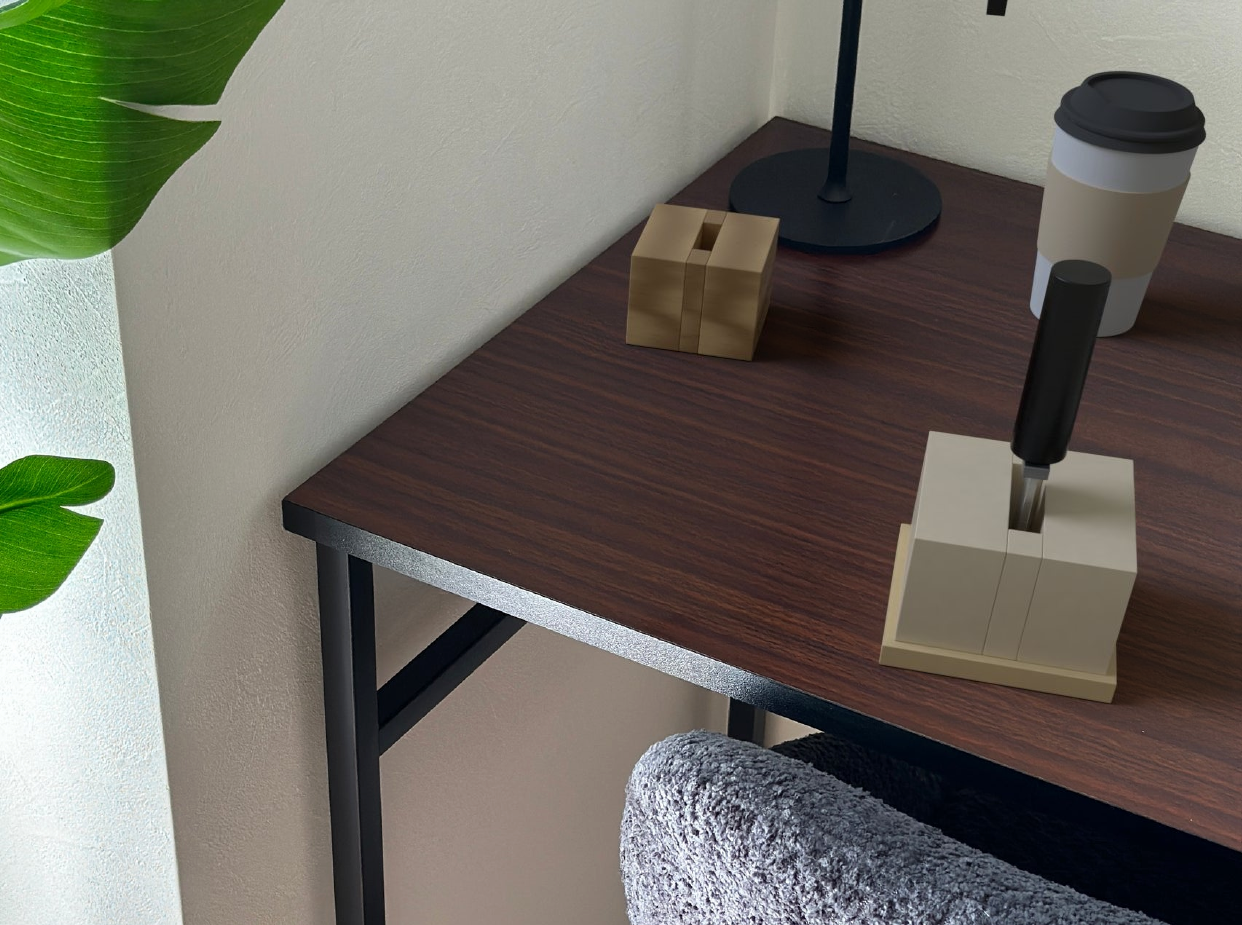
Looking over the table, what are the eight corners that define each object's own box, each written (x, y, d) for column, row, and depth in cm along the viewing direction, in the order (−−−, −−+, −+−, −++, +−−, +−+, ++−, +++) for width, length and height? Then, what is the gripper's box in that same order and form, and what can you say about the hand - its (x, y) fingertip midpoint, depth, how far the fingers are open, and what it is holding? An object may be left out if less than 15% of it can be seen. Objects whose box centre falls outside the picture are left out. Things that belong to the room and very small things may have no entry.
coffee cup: (1117, 277, 117) (1175, 55, 107) (1177, 340, 110) (1245, 108, 101) (991, 284, 116) (1039, 60, 106) (1044, 348, 109) (1100, 114, 99)
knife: (1028, 585, 87) (1112, 260, 76) (1026, 621, 84) (1113, 291, 73) (976, 577, 87) (1052, 252, 76) (973, 613, 85) (1050, 283, 74)
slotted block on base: (1109, 574, 90) (1143, 456, 85) (1111, 703, 82) (1149, 580, 77) (897, 541, 92) (920, 423, 87) (878, 664, 83) (902, 541, 79)
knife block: (769, 304, 113) (780, 218, 109) (751, 361, 107) (762, 271, 103) (650, 288, 114) (656, 202, 110) (625, 344, 108) (631, 254, 104)
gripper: (937, -645, 56) (851, 22, 70) (1774, -624, 52) (1508, 81, 65) (948, -651, 62) (866, -34, 75) (1705, -633, 57) (1473, 18, 71)
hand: (1165, 21), depth 70 cm, fingers open, 13 cm apart
